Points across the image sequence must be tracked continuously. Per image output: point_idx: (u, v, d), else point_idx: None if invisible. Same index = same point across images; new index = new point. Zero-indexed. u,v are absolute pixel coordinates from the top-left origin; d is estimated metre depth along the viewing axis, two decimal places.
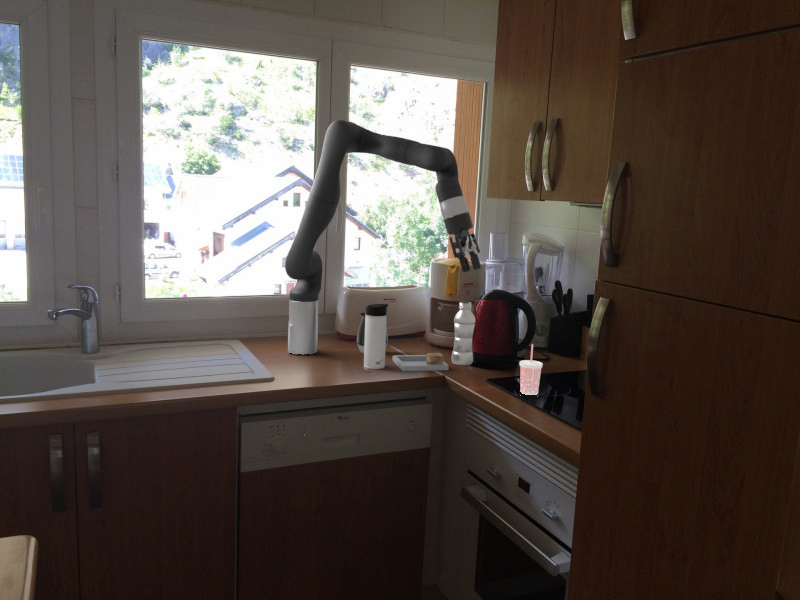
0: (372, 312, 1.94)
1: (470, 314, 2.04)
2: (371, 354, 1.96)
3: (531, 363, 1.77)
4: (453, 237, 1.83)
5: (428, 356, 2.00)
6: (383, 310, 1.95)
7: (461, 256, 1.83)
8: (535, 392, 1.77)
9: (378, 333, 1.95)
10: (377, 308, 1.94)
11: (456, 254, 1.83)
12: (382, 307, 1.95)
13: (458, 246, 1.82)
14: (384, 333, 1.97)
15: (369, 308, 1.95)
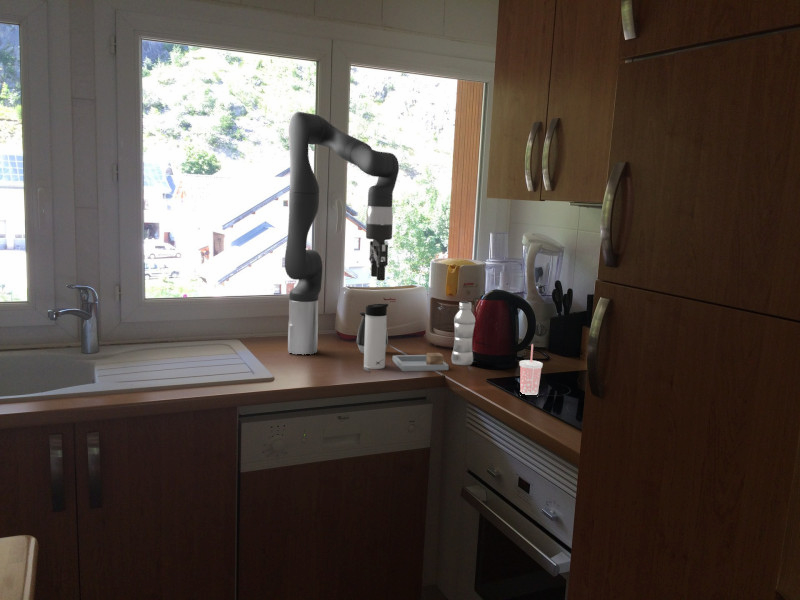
0: (372, 312, 1.94)
1: (470, 314, 2.04)
2: (371, 354, 1.96)
3: (531, 363, 1.77)
4: (383, 246, 1.88)
5: (428, 356, 2.00)
6: (383, 310, 1.95)
7: (384, 265, 1.89)
8: (535, 392, 1.77)
9: (378, 333, 1.95)
10: (377, 308, 1.94)
11: (381, 262, 1.88)
12: (382, 307, 1.94)
13: (386, 256, 1.88)
14: (384, 333, 1.97)
15: (369, 308, 1.95)
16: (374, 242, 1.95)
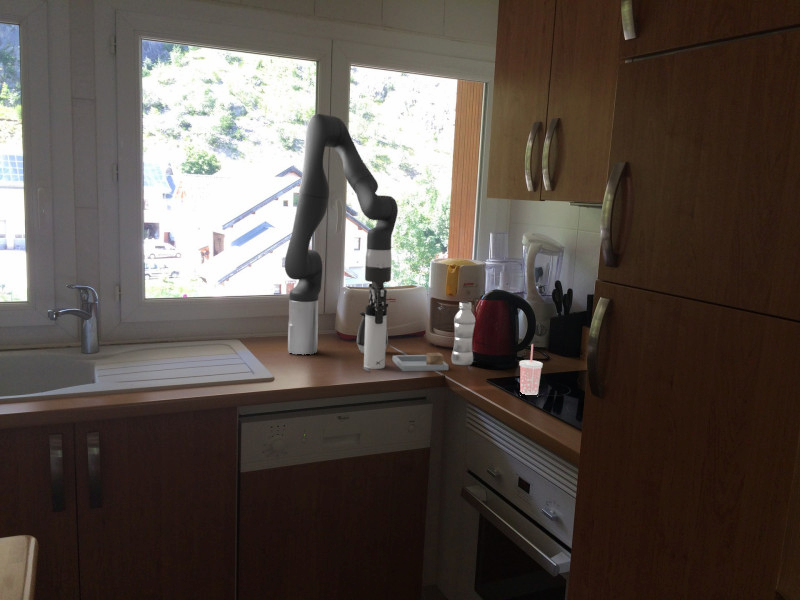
0: (372, 312, 1.94)
1: (470, 314, 2.04)
2: (371, 354, 1.96)
3: (531, 363, 1.77)
4: (382, 291, 1.90)
5: (428, 356, 2.00)
6: None
7: (382, 310, 1.92)
8: (535, 392, 1.77)
9: (378, 333, 1.95)
10: None
11: (379, 307, 1.91)
12: None
13: (384, 301, 1.90)
14: (384, 333, 1.97)
15: (369, 308, 1.95)
16: (373, 284, 1.97)
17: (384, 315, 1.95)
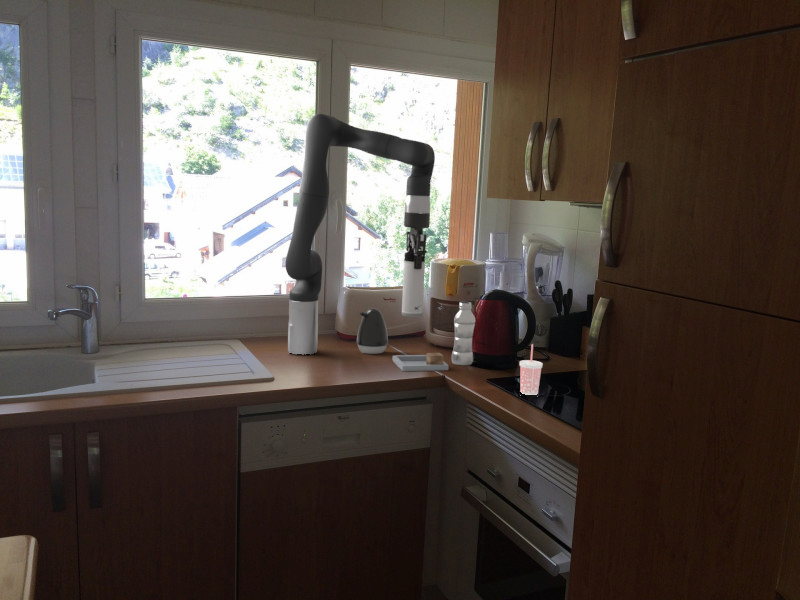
0: (411, 258, 1.97)
1: (470, 314, 2.04)
2: (410, 299, 1.99)
3: (531, 363, 1.77)
4: (422, 236, 1.93)
5: (428, 356, 2.00)
6: (422, 256, 1.98)
7: (421, 255, 1.95)
8: (535, 392, 1.77)
9: (417, 279, 1.98)
10: None
11: (419, 252, 1.94)
12: None
13: (424, 246, 1.93)
14: (422, 279, 2.00)
15: (408, 254, 1.98)
16: (412, 230, 2.00)
17: (423, 261, 1.99)
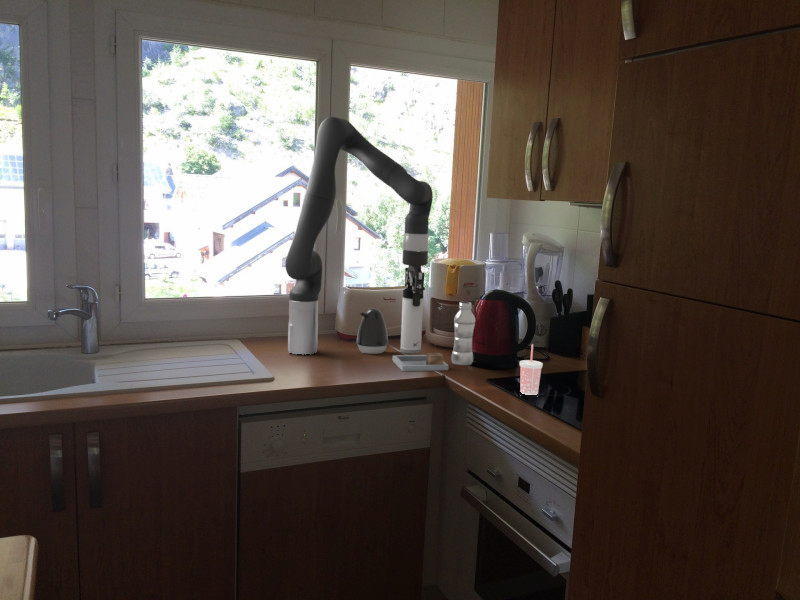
0: (410, 295, 1.99)
1: (470, 314, 2.04)
2: (409, 336, 2.01)
3: (531, 363, 1.77)
4: (420, 274, 1.94)
5: (428, 356, 2.00)
6: None
7: (420, 292, 1.96)
8: (535, 392, 1.77)
9: (416, 316, 2.00)
10: None
11: (417, 290, 1.95)
12: None
13: (422, 284, 1.95)
14: (421, 316, 2.01)
15: (407, 291, 1.99)
16: (410, 267, 2.01)
17: (421, 298, 2.00)
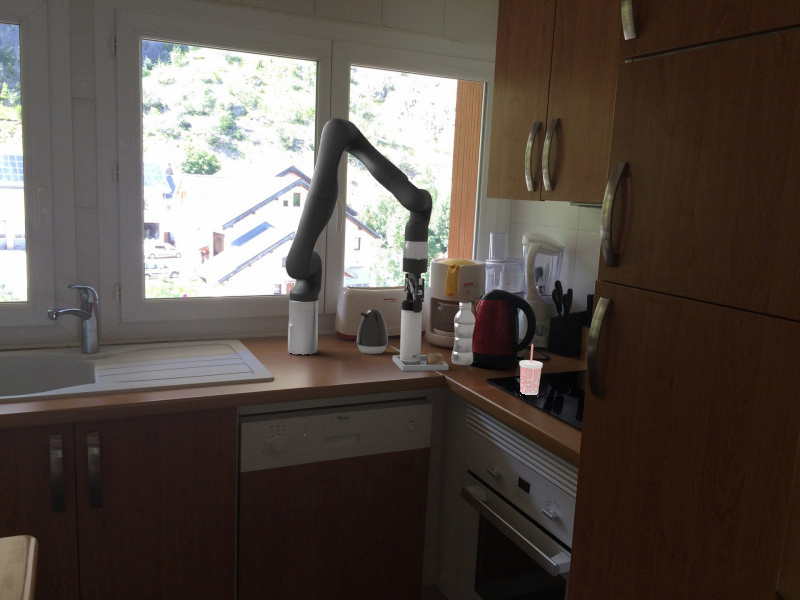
0: (408, 307, 1.99)
1: (470, 314, 2.04)
2: (408, 348, 2.01)
3: (531, 363, 1.77)
4: (420, 280, 1.94)
5: (428, 356, 2.00)
6: None
7: (420, 298, 1.96)
8: (535, 392, 1.77)
9: (415, 328, 2.00)
10: None
11: (418, 296, 1.95)
12: None
13: (422, 289, 1.95)
14: (420, 327, 2.02)
15: (405, 303, 2.00)
16: (410, 275, 2.02)
17: None
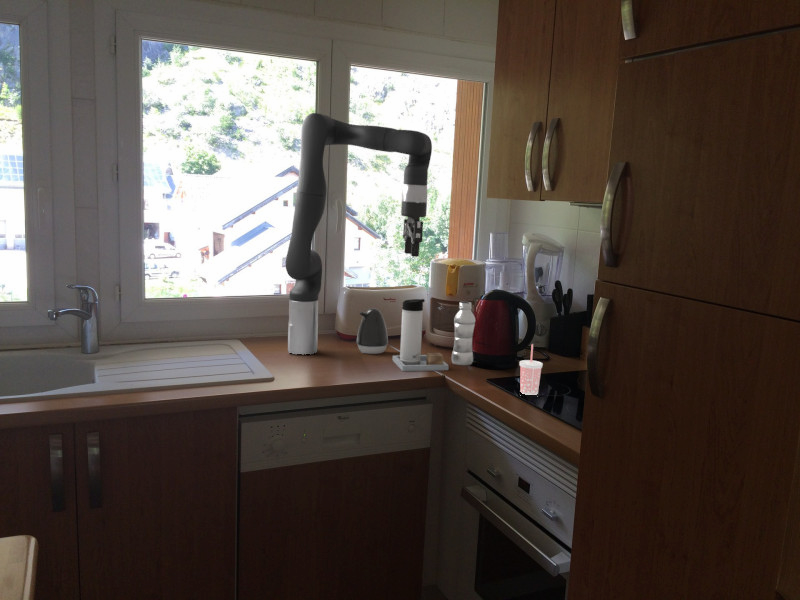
0: (409, 307, 1.99)
1: (470, 314, 2.04)
2: (408, 348, 2.01)
3: (531, 363, 1.77)
4: (419, 223, 1.94)
5: (428, 356, 2.00)
6: (420, 305, 2.00)
7: (419, 242, 1.95)
8: (535, 392, 1.77)
9: (415, 328, 2.00)
10: (414, 303, 1.99)
11: (416, 239, 1.94)
12: (419, 302, 2.00)
13: (421, 232, 1.94)
14: (420, 328, 2.02)
15: (406, 303, 2.00)
16: (409, 220, 2.01)
17: (421, 310, 2.01)
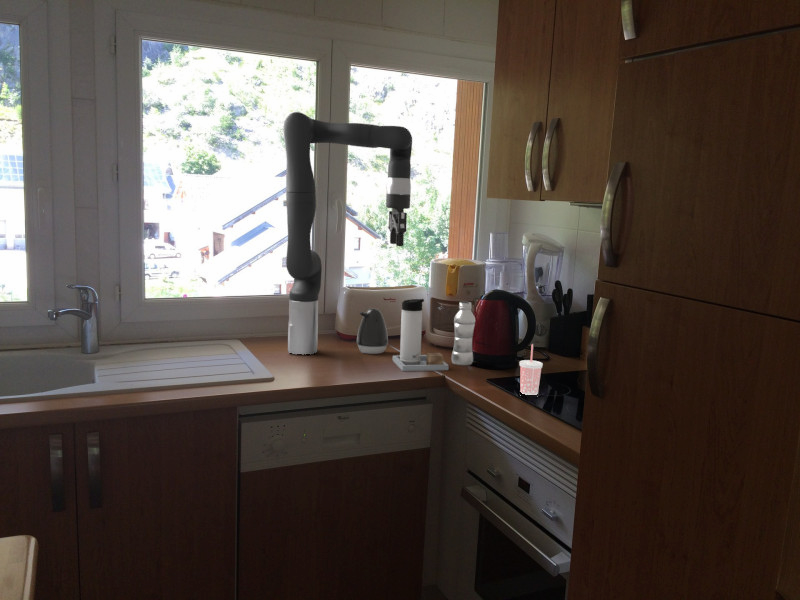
0: (409, 307, 1.99)
1: (470, 314, 2.04)
2: (408, 348, 2.01)
3: (531, 363, 1.77)
4: (403, 214, 2.04)
5: (428, 356, 2.00)
6: (419, 305, 2.00)
7: (403, 232, 2.05)
8: (535, 392, 1.77)
9: (415, 328, 2.00)
10: (414, 303, 1.99)
11: (400, 229, 2.04)
12: (418, 302, 2.00)
13: (405, 223, 2.04)
14: (420, 327, 2.02)
15: (406, 303, 2.00)
16: (393, 211, 2.11)
17: (420, 310, 2.01)
